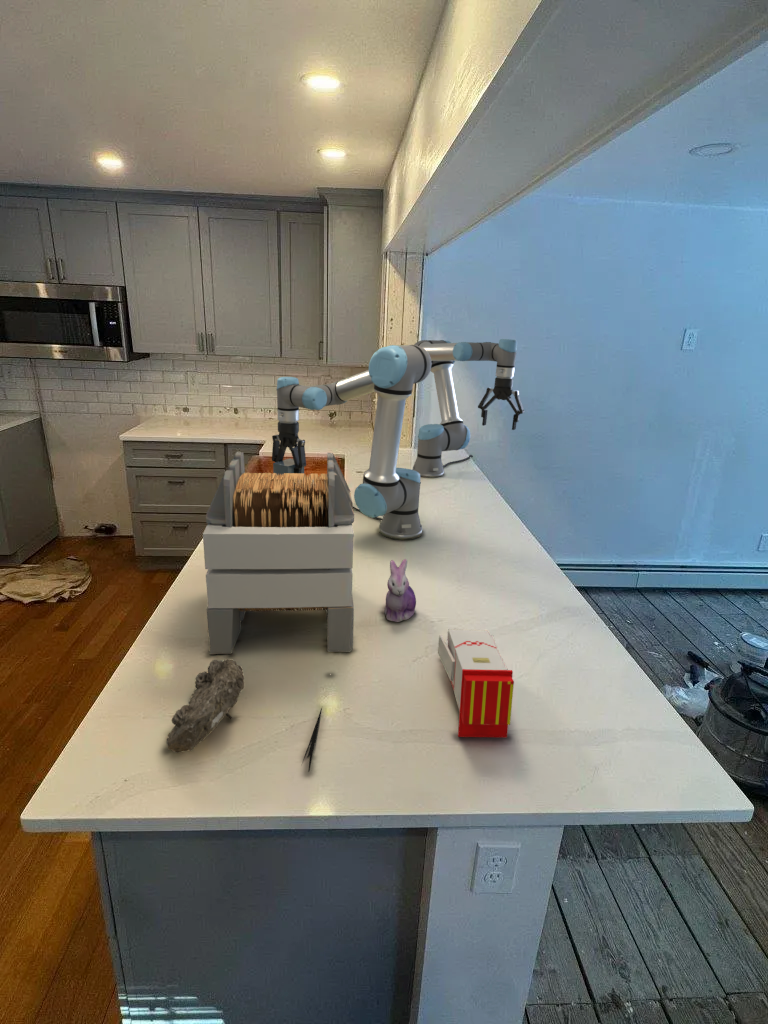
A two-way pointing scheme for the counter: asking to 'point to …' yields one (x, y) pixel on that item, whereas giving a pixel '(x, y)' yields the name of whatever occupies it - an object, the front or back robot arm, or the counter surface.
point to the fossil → (206, 705)
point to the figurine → (399, 594)
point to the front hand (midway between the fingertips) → (289, 482)
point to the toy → (478, 682)
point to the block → (285, 467)
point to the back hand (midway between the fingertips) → (498, 427)
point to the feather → (313, 740)
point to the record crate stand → (279, 550)
